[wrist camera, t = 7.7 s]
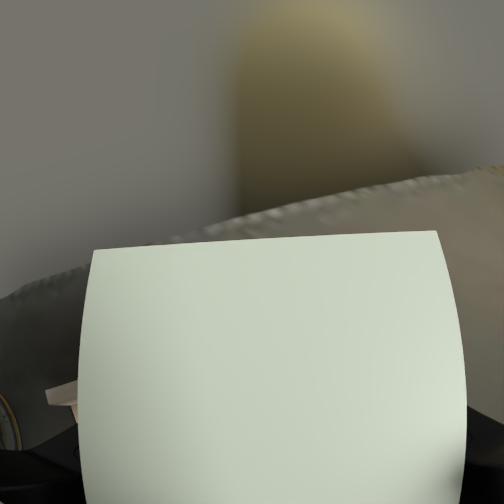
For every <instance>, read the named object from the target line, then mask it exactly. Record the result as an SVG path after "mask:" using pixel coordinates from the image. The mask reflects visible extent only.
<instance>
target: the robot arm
mask: <svg viewBox="0 0 504 504" xmlns="http://www.w3.org/2000/svg"><path fill="white" fill-rule="evenodd" d="M0 504H87V502H86V497H85V491H84V484H83V477H82V469H81V460H80V449H79V434H78V423H76V424H75V425H73V426H72V427H70V428H68V429H67V430H65V431H63V432H62V433H60V434H58V435H56V436H55V437H53V438H51V439H49V440H47V441H46V442H44V443H42V444H40V445H38V446H36V447H34V448H32V449H28V450H21V451H18V450H6V449H0ZM459 504H504V425H503V424H501V423H499V422H497V421H495V420H493V419H491V418H489V417H487V416H485V415H483V414H482V413H480V412H478V411H476V410H474V409H472V408H471V407H469V406H467V430H466V451H465V463H464V472H463V480H462V487H461V494H460V499H459Z"/></svg>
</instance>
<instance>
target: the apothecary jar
mask: <svg viewBox="0 0 504 504" xmlns="http://www.w3.org/2000/svg"><path fill="white" fill-rule="evenodd" d="M0 449H6V450H18V451H21V450H22V442H21V436H20V431H19V427H18V424H17V421H16V418H15V416H14V413H13V411H12V409H11V407H10V405H9V404H8V402H7V401H6V400H5V398H4V397H3V396H2V395H1V394H0Z"/></svg>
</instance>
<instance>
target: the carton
mask: <svg viewBox="0 0 504 504" xmlns="http://www.w3.org/2000/svg"><path fill="white" fill-rule="evenodd" d="M466 430H467V401H466V380H465V367H464V357H463V348H462V341H461V334H460V327H459V321H458V315H457V310H456V305H455V300H454V295H453V290H452V286H451V282H450V278H449V274H448V270H447V266H446V262H445V258H444V255H443V251H442V248H441V244H440V241H439V238H438V235H437V232H436V231H414V232H389V233H366V234H345V235H324V236H305V237H286V238H268V239H251V240H234V241H218V242H202V243H187V244H172V245H157V246H143V247H129V248H115V249H103V250H94V254H93V258H92V263H91V268H90V274H89V279H88V285H87V291H86V298H85V305H84V312H83V320H82V329H81V339H80V351H79V366H78V434H79V449H80V460H81V469H82V477H83V484H84V491H85V497H86V502H87V504H459V499H460V494H461V487H462V480H463V472H464V463H465V451H466Z"/></svg>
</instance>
